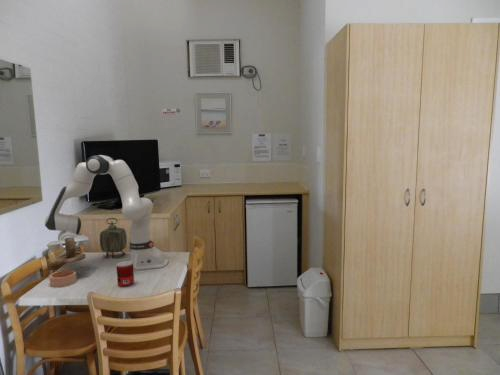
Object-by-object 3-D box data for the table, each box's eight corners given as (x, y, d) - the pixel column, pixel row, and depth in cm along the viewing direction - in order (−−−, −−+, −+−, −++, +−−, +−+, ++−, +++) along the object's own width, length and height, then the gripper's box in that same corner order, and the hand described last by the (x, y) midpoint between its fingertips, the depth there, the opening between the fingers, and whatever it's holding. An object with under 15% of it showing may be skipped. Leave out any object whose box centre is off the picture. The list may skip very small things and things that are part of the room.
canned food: (137, 282, 185) (136, 261, 184) (126, 288, 178) (124, 266, 176) (126, 280, 188) (124, 259, 187) (114, 285, 181) (113, 264, 180)
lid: (89, 254, 200) (88, 235, 199) (78, 262, 186) (76, 241, 185) (64, 255, 200) (62, 235, 198) (51, 263, 186) (49, 242, 184)
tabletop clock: (127, 254, 234) (125, 216, 231) (123, 258, 225) (120, 219, 222) (105, 254, 234) (102, 216, 231) (99, 259, 225) (97, 219, 222)
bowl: (80, 278, 192) (79, 269, 191) (70, 287, 180) (69, 277, 179) (57, 279, 191) (56, 270, 191) (45, 288, 180) (44, 278, 179)
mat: (100, 267, 209) (100, 266, 209) (88, 277, 193) (88, 276, 193) (72, 268, 208) (71, 267, 208) (58, 278, 192) (58, 277, 192)
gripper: (46, 238, 197) (47, 244, 186) (86, 233, 208) (90, 238, 196) (47, 249, 198) (48, 256, 186) (87, 244, 209) (91, 249, 197)
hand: (70, 247), depth 191 cm, fingers closed on lid, 4 cm apart
